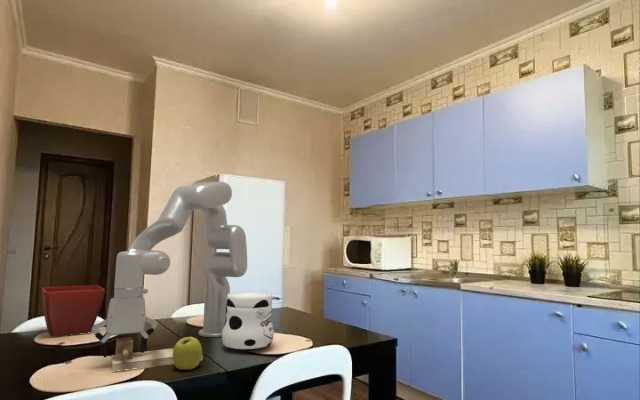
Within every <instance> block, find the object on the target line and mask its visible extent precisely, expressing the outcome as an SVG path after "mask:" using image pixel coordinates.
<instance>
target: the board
mask: <svg viewBox="0 0 640 400" xmlns="http://www.w3.org/2000/svg"><path fill="white" fill-rule="evenodd" d="M173 349H174V347H172V348H162V349H155V350H148V351H147V350H146V351H145V350H144V353H141V351H137V352H132V359H130V360H127V361H124V360H122V361H116V358H115V354H112V355H110V365H112V367H111V371H112V370H113V371H117V370H125V369H133V368H141V367H144V368H143V369H147V368H148V369H149V368H154V367H162V366H163V367H164V366H169V365H170V366H171V365H175V364H174V360H173ZM203 354H204V353H203V352H202V356H201V360H200V362H201V361H203Z"/></svg>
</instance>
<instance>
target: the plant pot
mask: <svg viewBox="0 0 640 400" xmlns="http://www.w3.org/2000/svg"><path fill="white" fill-rule="evenodd" d="M105 291H106V289H105V288H103V287H101V286H99V285H97V284H96V285H92V284H91V285H73V286H72V285H68V286H45V287H44V286H43V287H41V297H42V309H43V315H44V320H45V324H46V325H45V326H46V329H47V332H48V334H49V335H48V336H49V337H50V336H57V337H64V336H63V335H67V336H72V335H71V334H77V335H81V334H80V333H87V334H89V333H88V332H90V333H91V332H92V327H93V326H94V325H95V323H96V320H97V318H98V316H99V313H100V310H101V307H102V303H103V300H104V296H105V293H106V292H105Z"/></svg>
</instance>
